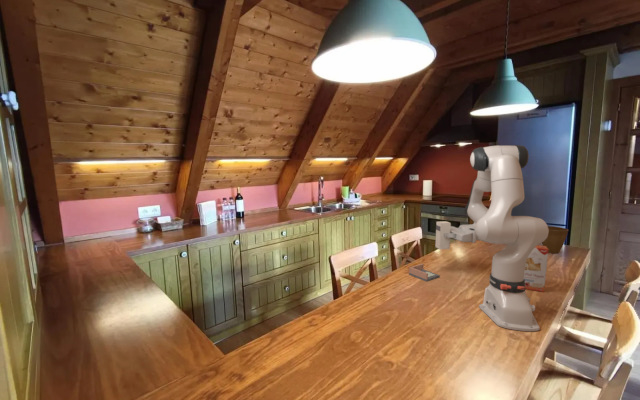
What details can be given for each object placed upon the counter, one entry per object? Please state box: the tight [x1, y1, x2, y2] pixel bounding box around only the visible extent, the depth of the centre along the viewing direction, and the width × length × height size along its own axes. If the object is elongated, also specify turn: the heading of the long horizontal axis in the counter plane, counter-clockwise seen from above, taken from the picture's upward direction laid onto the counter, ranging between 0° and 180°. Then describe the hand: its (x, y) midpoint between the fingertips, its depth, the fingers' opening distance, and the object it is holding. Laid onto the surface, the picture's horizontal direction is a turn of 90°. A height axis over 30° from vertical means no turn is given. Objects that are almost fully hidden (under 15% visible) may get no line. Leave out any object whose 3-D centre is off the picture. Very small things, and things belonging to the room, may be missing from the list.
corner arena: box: [408, 263, 440, 282], centre depth 158 cm, size 11×10×4 cm
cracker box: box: [524, 244, 549, 293], centre depth 141 cm, size 14×6×21 cm, turn 62°
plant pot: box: [541, 225, 569, 254], centre depth 196 cm, size 15×15×16 cm
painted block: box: [435, 220, 452, 250], centre depth 158 cm, size 4×6×14 cm
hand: (441, 233), depth 158 cm, fingers closed on painted block, 4 cm apart
